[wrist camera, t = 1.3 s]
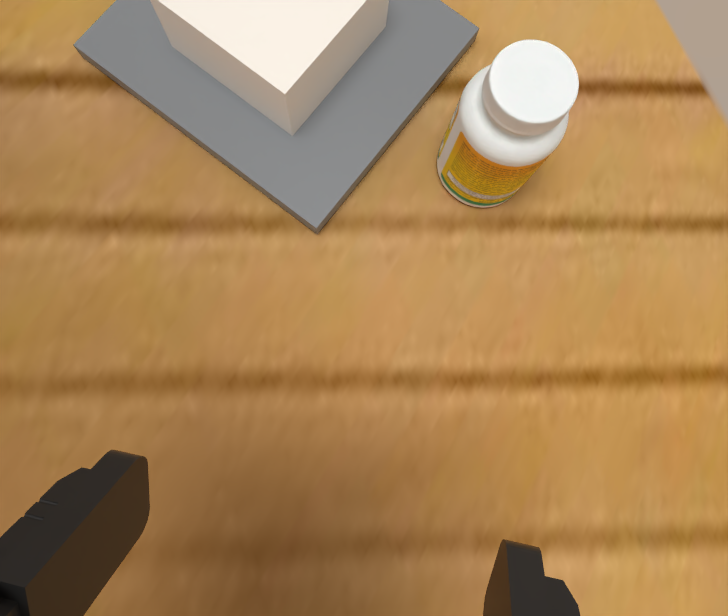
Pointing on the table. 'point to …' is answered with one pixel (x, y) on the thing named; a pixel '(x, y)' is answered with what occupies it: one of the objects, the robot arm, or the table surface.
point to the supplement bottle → (507, 123)
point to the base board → (260, 134)
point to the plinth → (274, 47)
